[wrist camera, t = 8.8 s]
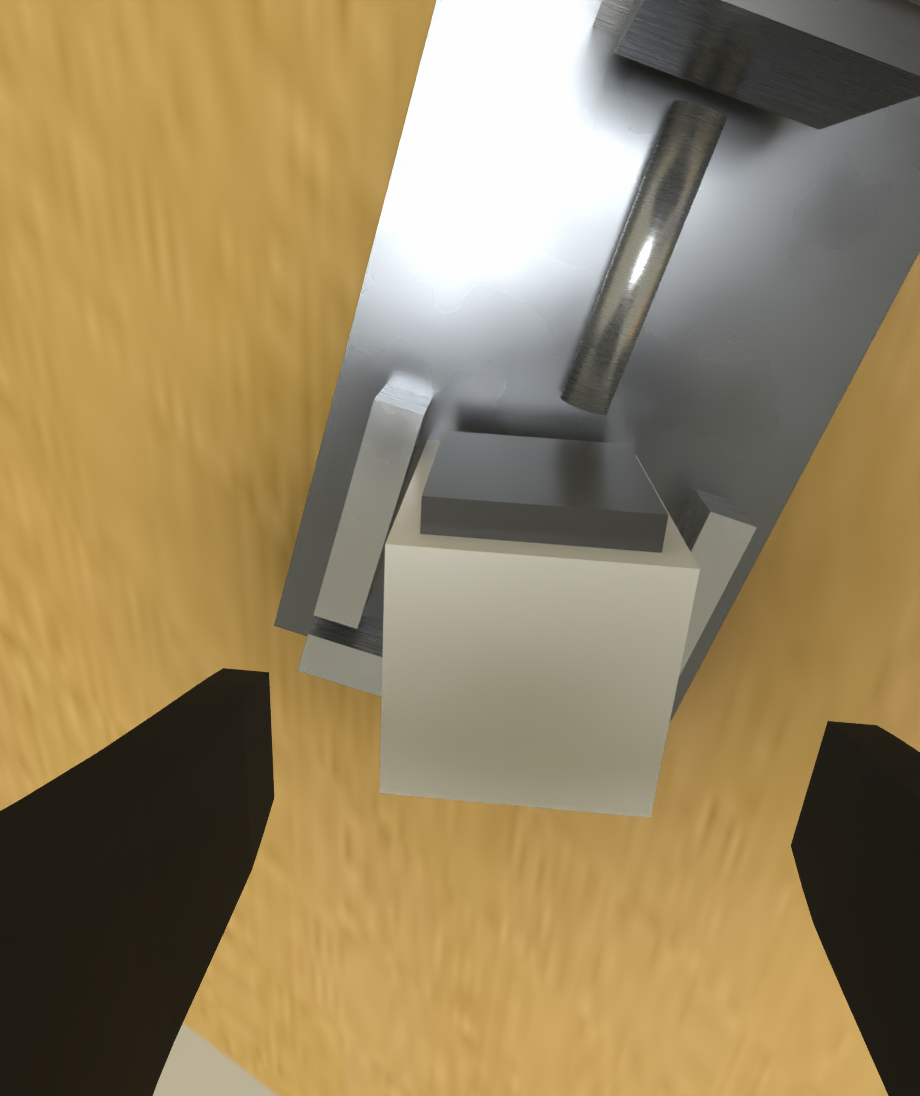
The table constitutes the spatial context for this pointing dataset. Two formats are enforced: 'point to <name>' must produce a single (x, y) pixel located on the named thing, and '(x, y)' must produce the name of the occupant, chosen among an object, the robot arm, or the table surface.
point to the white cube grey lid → (531, 626)
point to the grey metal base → (620, 271)
